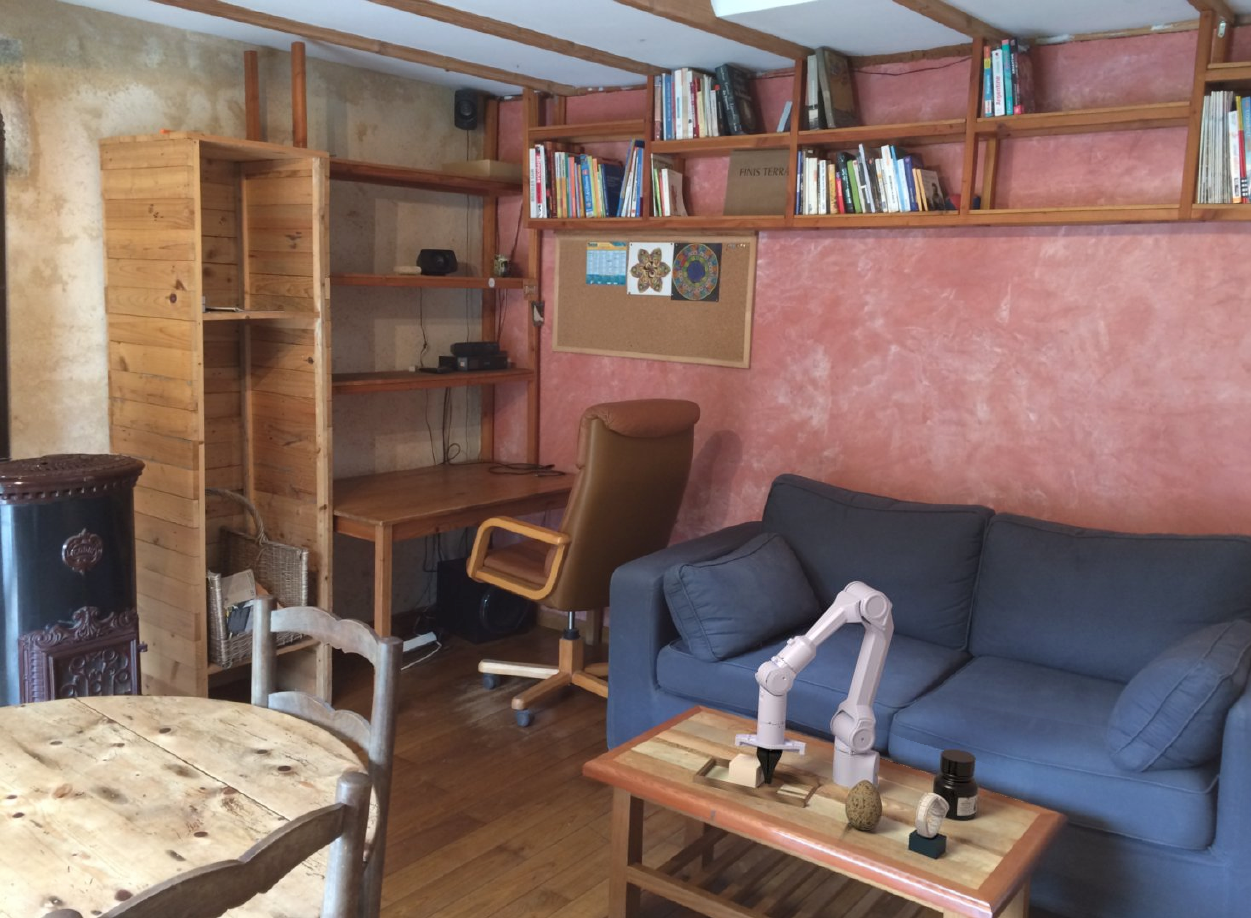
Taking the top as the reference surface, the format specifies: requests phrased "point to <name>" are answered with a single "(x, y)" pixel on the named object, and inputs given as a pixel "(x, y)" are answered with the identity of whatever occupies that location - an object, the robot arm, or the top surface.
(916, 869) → the top surface
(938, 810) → the watch
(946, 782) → the ink bottle
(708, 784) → the box
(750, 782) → the ivory block
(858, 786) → the decorative egg
